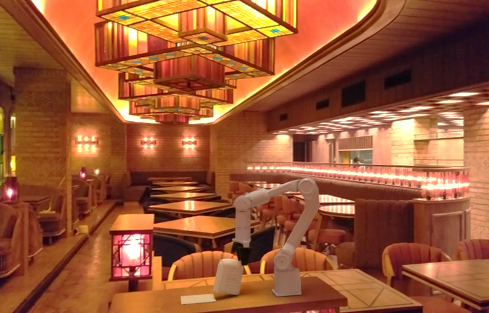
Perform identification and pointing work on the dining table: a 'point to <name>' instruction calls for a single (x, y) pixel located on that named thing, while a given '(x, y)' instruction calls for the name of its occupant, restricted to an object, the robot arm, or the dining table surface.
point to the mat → (197, 299)
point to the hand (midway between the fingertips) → (242, 263)
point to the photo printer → (228, 277)
